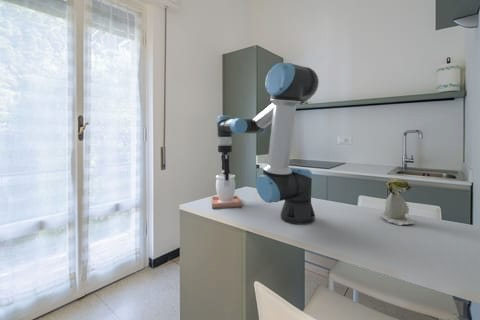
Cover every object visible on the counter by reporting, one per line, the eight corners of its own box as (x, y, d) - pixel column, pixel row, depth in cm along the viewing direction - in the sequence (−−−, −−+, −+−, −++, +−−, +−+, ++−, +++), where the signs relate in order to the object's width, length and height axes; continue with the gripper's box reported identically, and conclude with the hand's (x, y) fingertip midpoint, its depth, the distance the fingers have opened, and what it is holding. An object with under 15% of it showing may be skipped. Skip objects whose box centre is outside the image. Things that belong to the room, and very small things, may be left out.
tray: (241, 206, 131) (241, 202, 131) (212, 208, 129) (212, 203, 128) (238, 199, 145) (238, 195, 145) (211, 200, 143) (211, 196, 143)
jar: (213, 204, 134) (212, 176, 132) (220, 199, 143) (219, 173, 142) (231, 205, 130) (231, 177, 129) (237, 200, 140) (237, 174, 139)
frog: (384, 224, 105) (386, 181, 103) (377, 214, 117) (379, 176, 115) (417, 227, 101) (420, 183, 99) (406, 216, 113) (409, 177, 111)
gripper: (234, 145, 121) (235, 188, 124) (229, 143, 146) (230, 179, 148) (219, 146, 120) (220, 189, 123) (216, 144, 145) (217, 179, 147)
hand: (225, 183), depth 135 cm, fingers open, 13 cm apart
